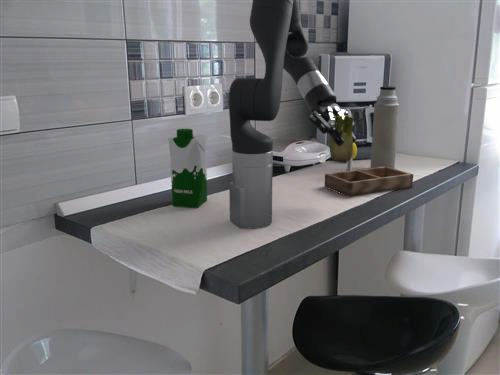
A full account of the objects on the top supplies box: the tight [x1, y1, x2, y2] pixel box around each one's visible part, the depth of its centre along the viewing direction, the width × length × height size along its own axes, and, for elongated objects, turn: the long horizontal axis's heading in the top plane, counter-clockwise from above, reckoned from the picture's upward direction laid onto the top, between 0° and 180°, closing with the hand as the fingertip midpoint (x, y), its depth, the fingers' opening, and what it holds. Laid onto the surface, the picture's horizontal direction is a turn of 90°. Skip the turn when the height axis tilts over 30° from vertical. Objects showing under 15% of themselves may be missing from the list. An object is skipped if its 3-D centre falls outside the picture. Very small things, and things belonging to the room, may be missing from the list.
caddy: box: [324, 166, 414, 198], centre depth 147 cm, size 23×12×4 cm, turn 116°
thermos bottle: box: [369, 85, 400, 169], centre depth 166 cm, size 8×8×28 cm
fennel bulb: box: [328, 115, 355, 163], centre depth 129 cm, size 6×5×12 cm
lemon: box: [352, 142, 358, 160], centre depth 182 cm, size 6×6×8 cm
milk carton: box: [168, 128, 208, 209], centre depth 130 cm, size 9×9×20 cm
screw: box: [340, 156, 354, 172], centre depth 158 cm, size 13×5×5 cm
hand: (347, 142), depth 127 cm, fingers closed on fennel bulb, 3 cm apart
